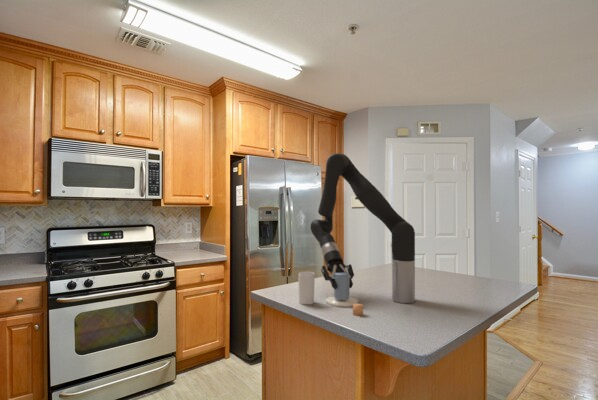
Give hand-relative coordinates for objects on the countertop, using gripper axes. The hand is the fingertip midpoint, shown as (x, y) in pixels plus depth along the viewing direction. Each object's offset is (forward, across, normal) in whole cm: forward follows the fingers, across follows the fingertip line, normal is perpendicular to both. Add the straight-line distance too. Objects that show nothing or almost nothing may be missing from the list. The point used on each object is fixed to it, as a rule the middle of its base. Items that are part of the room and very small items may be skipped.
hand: (343, 287), depth 134 cm
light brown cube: (+15, -1, -5) cm, 16 cm away
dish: (+3, 0, +6) cm, 7 cm away
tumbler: (+2, 0, +4) cm, 5 cm away
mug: (-1, -14, +10) cm, 17 cm away
